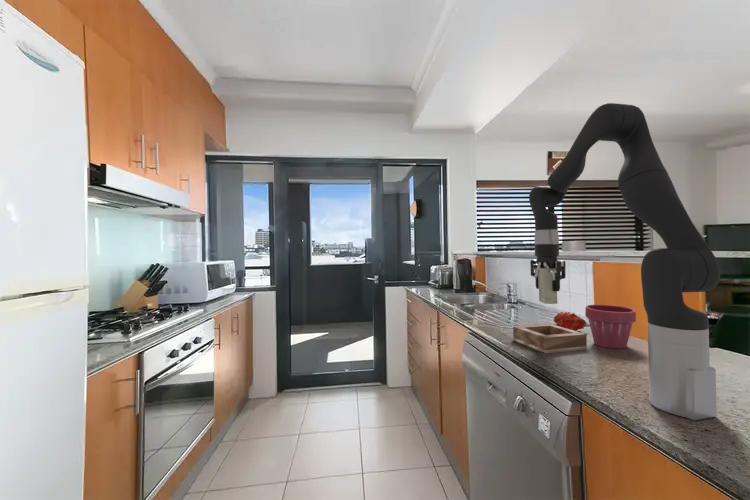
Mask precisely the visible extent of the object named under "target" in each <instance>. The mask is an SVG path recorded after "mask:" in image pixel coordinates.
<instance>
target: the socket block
mask: <svg viewBox="0 0 750 500" xmlns="http://www.w3.org/2000/svg"><path fill="white" fill-rule="evenodd" d="M556 325H557V324H556ZM556 325H555V324H551V323H541V324H528V325H519V326H517V325H515V326H512V331H513V333H512V337H513V341H514V342H517V343H519V344H522V345H525V346H527V347H529V348H531V347H532V349H534V350H536V351H538V352H541V353H543V352H544V353H543V354H552V353H553V354H554V353H562V352H573V351H580V350H587V349H588V347H587V346H588V345H587V344H588V343H587V341H588V340H587V339H588V338H587V333H584V332H582V331H581V332H577V331H578V330H577V331H574V330H570V329H567V328H563V327H560V326H556Z"/></svg>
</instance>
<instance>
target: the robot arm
mask: <svg viewBox="0 0 750 500" xmlns="http://www.w3.org/2000/svg"><path fill="white" fill-rule="evenodd" d="M599 141H602V142H604V141H605V142H612V143H616V144H618V146H619V147H620V149H621V151H622V154H623V158H624V160H623V163H622V166H621V168H620V170H619V171H620V172H619V174H618V178H617V185H618V189H619V192H620V194H621V197H622V199H623V202H624V204H625V206H626V207H627V209H628V211H630V212H631V213H632V214H633V215H635V216H636V217H637V218H638V219H639V220H641V221H642V222H643V223H644V224H646V225H647V226H648V227H650V228H651V229H652V230H653V231H655V232H656V234H657V235H658V236H659V237H660V238H661V240H662V241H663V242H664V244H665V246H666V247H665V248H654V249H651V250H649V251H648V252H646V253H645V255H644V256H643V258H642V261H641V266H640V279H641V289H642V301H643V308H644V310H645V313H646V316H647V346H648V347H647V354H648V355H647V356H648V357H647V358H648V395H649V397H648V399H649V400H648V401H649V403H650V404H651V405H652V406H653V407H654V408H656V409H659V410H661V411H663V412H666V413H669V414H672V415H675V416H679V417H683V418H687V419H689V420H692V421H699V420H703V419H704V420H705V419H709V418H714V417H717V416H718V415H717V413H718V412H717V411H718V410H717V370H716V368H715V367H713V366H710V330H709V327H710V326H709V325H710V323H709V317H708V315H707V314H706V313H705V312H702V311H700V310H696V309H693V308H691V307H690V306H688V305H687V304H686V303H685V301H684V297H683V293H704V292H708V291H712V290H713V289H715V288H716V286H718V284H719V283H720V279H721V268H720V266H719V265H720V264H719V262H718V260H717V258H716V256H715V254H714V252H713V251H712V249H711V248H710V246H709V245H708V244H707V242H706V240H705V238H703V236H702V234H701V233H700V232H699V230H698V229H697V227H696V226H695V224H694V222H693V221H692V219H691V217H690V216H689V213H688V212H687V210H686V208H685V206H684V204H683V202H682V201H681V199H680V197H679V194H678V193H677V190H676V188H675V186H674V183H673V181H672V179H671V177H670V175H669V173H668V171H667V169H666V167H665V166H664V164H663V162H662V160H661V157H660V155H659V153H658V151H657V148H656V146H655V144H654V142H653V138H652V136H651V133H650V129H649V125H648V123H647V119H646V116H645V114H644V112H643V111H642V109H641V108H640V107H638V106H636V105H633V104H624V103H615V102H614V103H613V102H609V103H608V102H607V103H603V104H600V105H599V106H597V107H596V109H594V111H592V113H591V114H590V115H589V117H588V118H587V120H586V122H585V123H584V124H583V127H582V128H581V130H580V132H579V133H578V135H577V136H576V138H575V140H574V142H573V143H572V145H571V147H570V149H569V150H568V152H567V153H566V154H565V156H564V158H563V159H562V161H561V162H560V163H559V164H558V165H557V166H556V167H555V169H554V170H553V171H552V172H551V174H550V175H549V176H548V178H547V185H544V186H543V185H539V186H534V187H533V188H532V189H531V190H530V192H529V195H528V201H529V204H530V208H531V212H532V213H533V214H532V215H533V217H534V231H535V232H534V256H535V257H536V259H531V260H529V261H530V277H534V278H535V289H538V290H539V285H538V274H539V268H546V269H548V273H549V275H551V277H552V279H553V280H552V290H553V291H555V292H556V291H557V292H560V290H561V280H564V279H566V260H558V257H559V256H560V240H559V239H560V235H559V230H558V229H559V226H558V225H559V223H558V222H559V221H558V219H559V218H558V214H556V213H554V212H551V211H548V210H547V207H556V206H558V205H559V204H561V203H562V202H563V200H564V198H565V196H566V194H567V192H568V190H569V188H570V187H571V186H572V185H573V184H574V183H575V182H576V181H577V180H578V179H579V178H580V176H581V175H582V173H583V172H584V169H585V167H586V160H587V154H588V152H589V150H590V149H591V148H592V147H593V146H594V145H595V144H596V143H598V142H599ZM555 268H556V271H552V270H551V269H555ZM555 274H556V276H555Z"/></svg>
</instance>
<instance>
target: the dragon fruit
mask: <svg viewBox="0 0 750 500" xmlns="http://www.w3.org/2000/svg"><path fill="white" fill-rule="evenodd" d="M553 323H555V324H554V325H556V326H560V327H563V328H567V329H570V330H574V331H577V332H581V333H582V331H581V330H582V329H583V330H584V328H585V326H587V325H588V322H587V321H586V320H585V319H583V318H581V317H580V316H578V315H576V313H575V312H572V313H571V312H570V311H565V312H562V311H560V313H557V315H555V316H554V317H553Z"/></svg>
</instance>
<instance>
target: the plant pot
mask: <svg viewBox="0 0 750 500" xmlns="http://www.w3.org/2000/svg"><path fill="white" fill-rule="evenodd" d="M584 312H585V314H584V315H585V317H586V318H587V319H588V322H589V327H590V331H591V335H592V338H593V343H594V344H595V345H598V346H599V347H603V348H604V347H605V348H609V349H625V348H627V345H628V342H629V339H630V335H631V331H632V327H633V323H635V322H636V321H637V320H636V319H637V314H636V310H635V309H633V308H631V307H625V306H620V305H611V304H588V305H586V306H585V311H584Z"/></svg>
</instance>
